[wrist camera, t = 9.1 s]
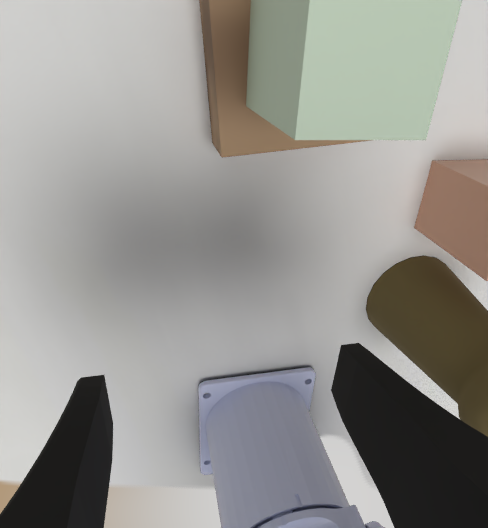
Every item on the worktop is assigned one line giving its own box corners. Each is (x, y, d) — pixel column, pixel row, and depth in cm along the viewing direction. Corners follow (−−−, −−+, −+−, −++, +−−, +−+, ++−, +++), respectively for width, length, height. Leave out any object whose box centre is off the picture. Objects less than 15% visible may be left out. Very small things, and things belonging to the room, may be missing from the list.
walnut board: (347, 125, 20) (377, 139, 18) (210, 140, 19) (221, 157, 17) (361, -48, 17) (400, -61, 14) (194, -42, 16) (204, -56, 13)
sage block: (339, 107, 17) (425, 139, 12) (246, 106, 16) (294, 139, 11) (357, -8, 15) (469, -29, 10) (251, -17, 14) (314, -45, 9)
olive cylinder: (400, 244, 24) (559, 378, 15) (468, 269, 27) (642, 400, 17) (349, 322, 27) (460, 479, 17) (416, 339, 29) (545, 486, 20)
